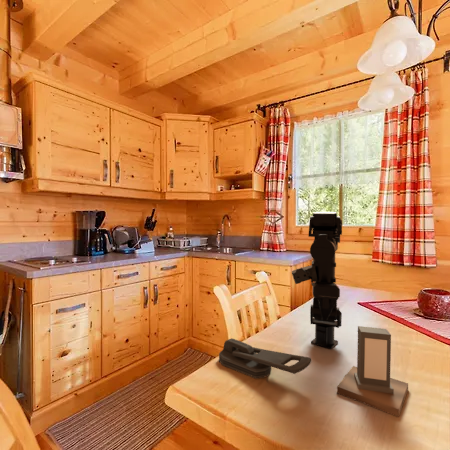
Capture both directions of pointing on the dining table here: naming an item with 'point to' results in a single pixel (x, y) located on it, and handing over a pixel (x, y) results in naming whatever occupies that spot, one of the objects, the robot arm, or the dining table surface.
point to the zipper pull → (258, 359)
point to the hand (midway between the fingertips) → (323, 314)
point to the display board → (374, 394)
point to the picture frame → (374, 360)
